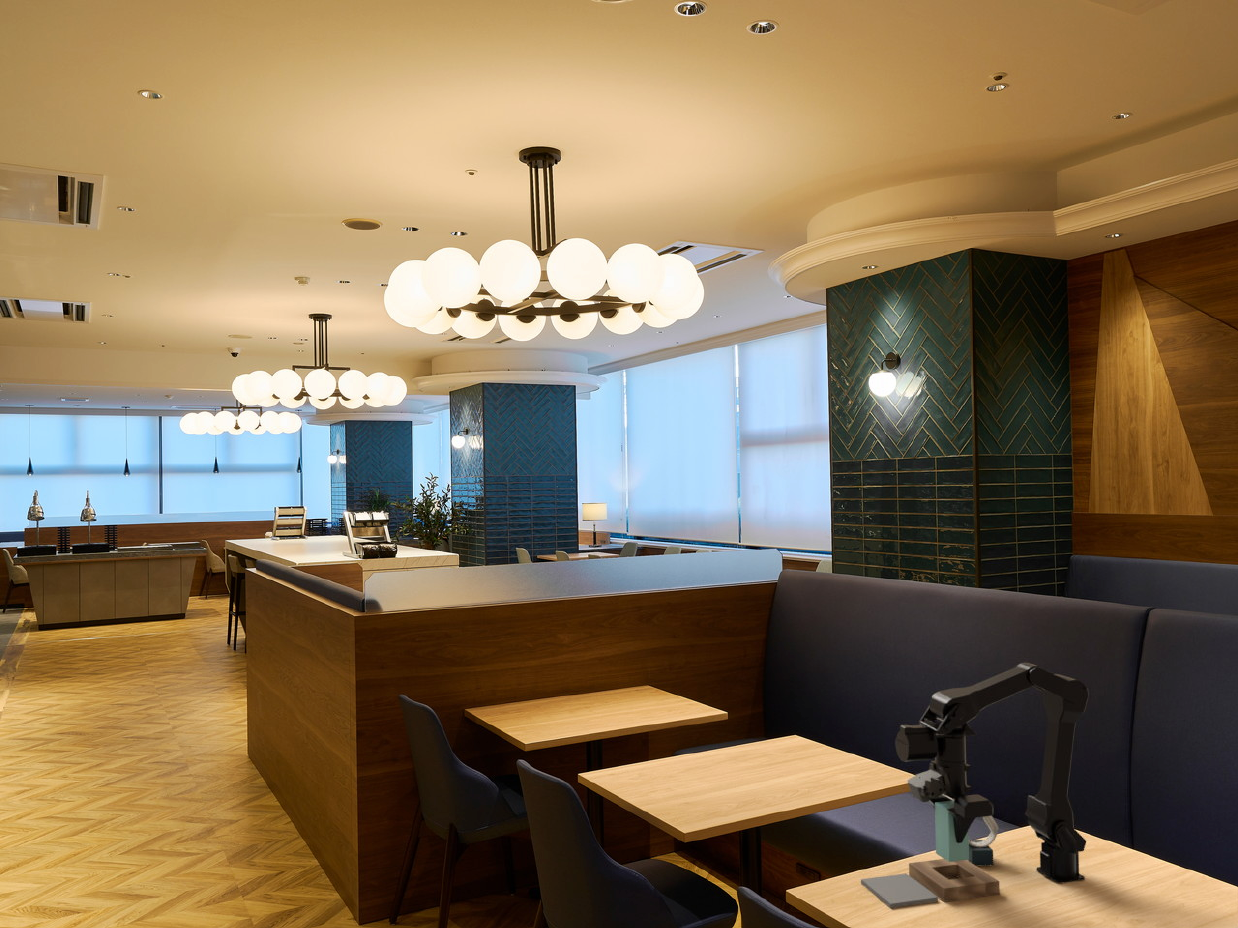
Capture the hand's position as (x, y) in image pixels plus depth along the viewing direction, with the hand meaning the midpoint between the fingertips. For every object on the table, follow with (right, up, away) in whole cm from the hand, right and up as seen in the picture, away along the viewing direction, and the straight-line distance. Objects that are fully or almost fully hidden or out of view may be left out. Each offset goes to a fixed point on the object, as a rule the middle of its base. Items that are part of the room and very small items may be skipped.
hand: (952, 837), depth 180 cm
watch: (+10, -10, +11) cm, 18 cm away
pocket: (0, -9, 0) cm, 9 cm away
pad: (-11, -9, -3) cm, 15 cm away
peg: (0, -4, 0) cm, 4 cm away
